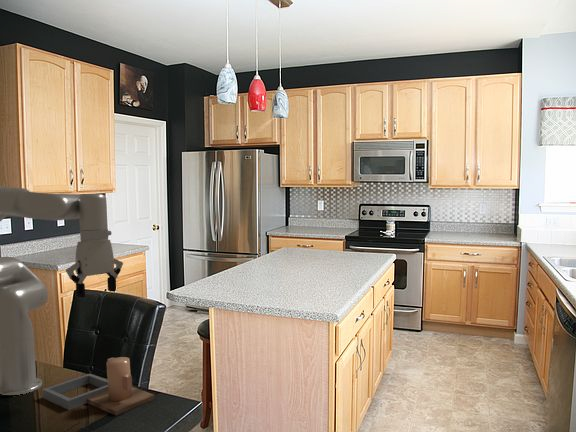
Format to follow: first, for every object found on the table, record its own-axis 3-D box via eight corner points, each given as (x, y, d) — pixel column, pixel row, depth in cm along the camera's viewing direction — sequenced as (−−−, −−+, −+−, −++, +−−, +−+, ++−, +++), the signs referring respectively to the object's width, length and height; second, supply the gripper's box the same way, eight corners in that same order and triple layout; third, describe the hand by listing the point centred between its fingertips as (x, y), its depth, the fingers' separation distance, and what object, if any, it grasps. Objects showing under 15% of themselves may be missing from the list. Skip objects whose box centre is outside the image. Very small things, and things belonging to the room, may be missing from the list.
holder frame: (43, 398, 134) (42, 389, 134) (90, 381, 145) (90, 373, 145) (68, 410, 125) (68, 401, 125) (117, 391, 137) (116, 383, 137)
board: (86, 403, 129) (86, 398, 129) (125, 388, 139) (125, 384, 139) (115, 415, 121) (115, 411, 121) (154, 399, 130) (154, 394, 130)
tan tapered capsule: (121, 389, 135) (119, 355, 134) (140, 396, 129) (138, 360, 129) (102, 397, 130) (100, 361, 130) (120, 404, 125) (118, 367, 124)
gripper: (113, 233, 147) (116, 288, 148) (58, 238, 133) (61, 298, 134) (127, 234, 143) (130, 290, 143) (72, 238, 129) (75, 300, 129)
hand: (97, 293), depth 139 cm, fingers open, 9 cm apart
